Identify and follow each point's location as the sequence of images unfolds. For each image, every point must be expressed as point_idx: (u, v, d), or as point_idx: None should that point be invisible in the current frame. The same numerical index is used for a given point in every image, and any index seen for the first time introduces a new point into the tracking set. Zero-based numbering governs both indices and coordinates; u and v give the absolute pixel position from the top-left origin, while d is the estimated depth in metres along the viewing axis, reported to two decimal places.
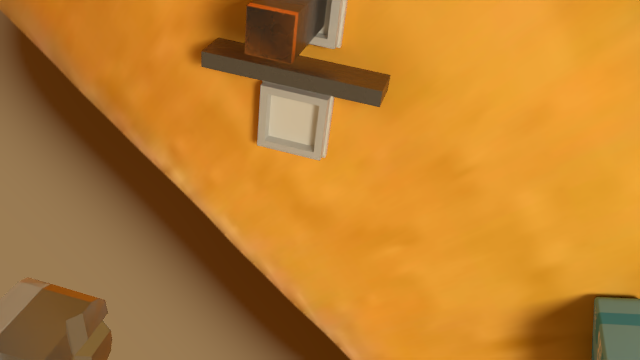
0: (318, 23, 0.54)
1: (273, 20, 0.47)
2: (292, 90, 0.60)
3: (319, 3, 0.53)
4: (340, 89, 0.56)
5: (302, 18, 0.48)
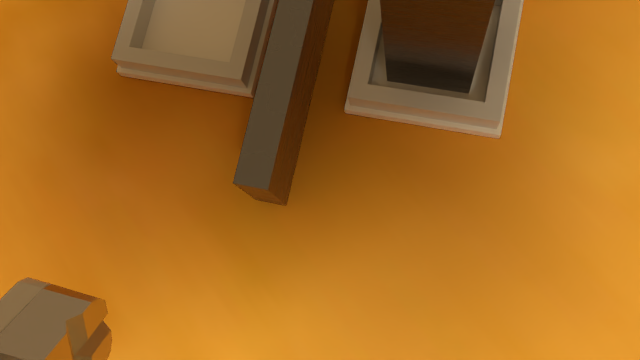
0: (406, 65, 0.27)
1: None
2: (260, 13, 0.30)
3: (449, 68, 0.26)
4: (273, 101, 0.26)
5: (465, 13, 0.21)
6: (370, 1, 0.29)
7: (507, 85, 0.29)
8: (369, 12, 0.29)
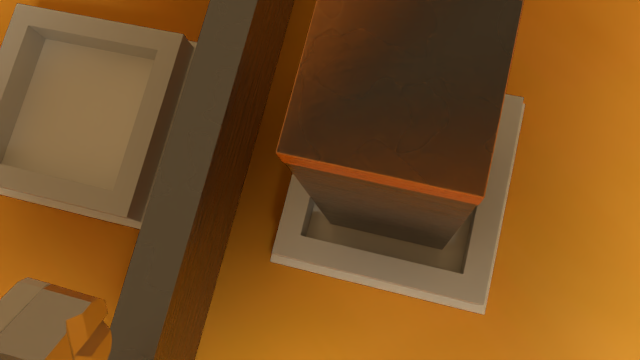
0: (352, 220, 0.19)
1: (462, 99, 0.11)
2: (162, 119, 0.22)
3: (413, 232, 0.18)
4: (156, 271, 0.18)
5: (429, 206, 0.13)
6: None
7: (496, 241, 0.20)
8: None
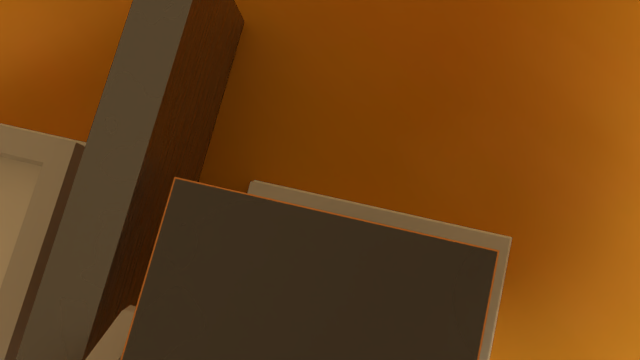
0: None
1: None
2: (48, 252, 0.17)
3: None
4: None
5: None
6: None
7: None
8: None
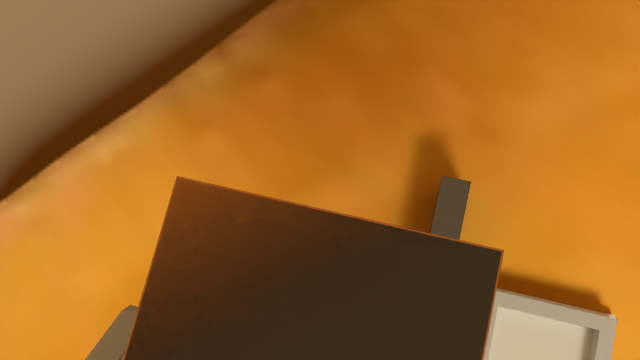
0: None
1: None
2: None
3: None
4: None
5: None
6: None
7: None
8: None
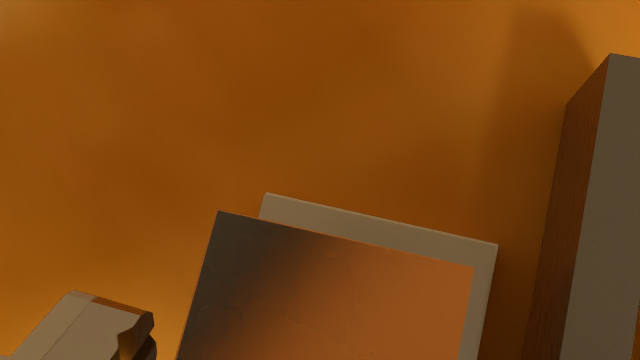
0: None
1: None
2: None
3: None
4: None
5: None
6: None
7: None
8: None
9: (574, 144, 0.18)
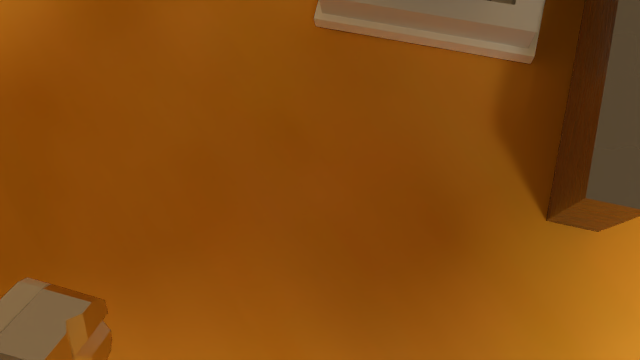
0: None
1: None
2: None
3: None
4: None
5: None
6: None
7: None
8: None
9: None
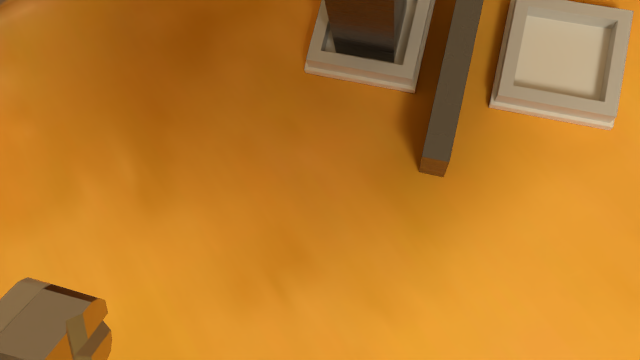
0: (347, 40, 0.38)
1: None
2: (424, 27, 0.39)
3: (376, 42, 0.37)
4: (450, 96, 0.35)
5: (378, 1, 0.32)
6: (513, 22, 0.38)
7: None
8: (513, 30, 0.38)
9: None
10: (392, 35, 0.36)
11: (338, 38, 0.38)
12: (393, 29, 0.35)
